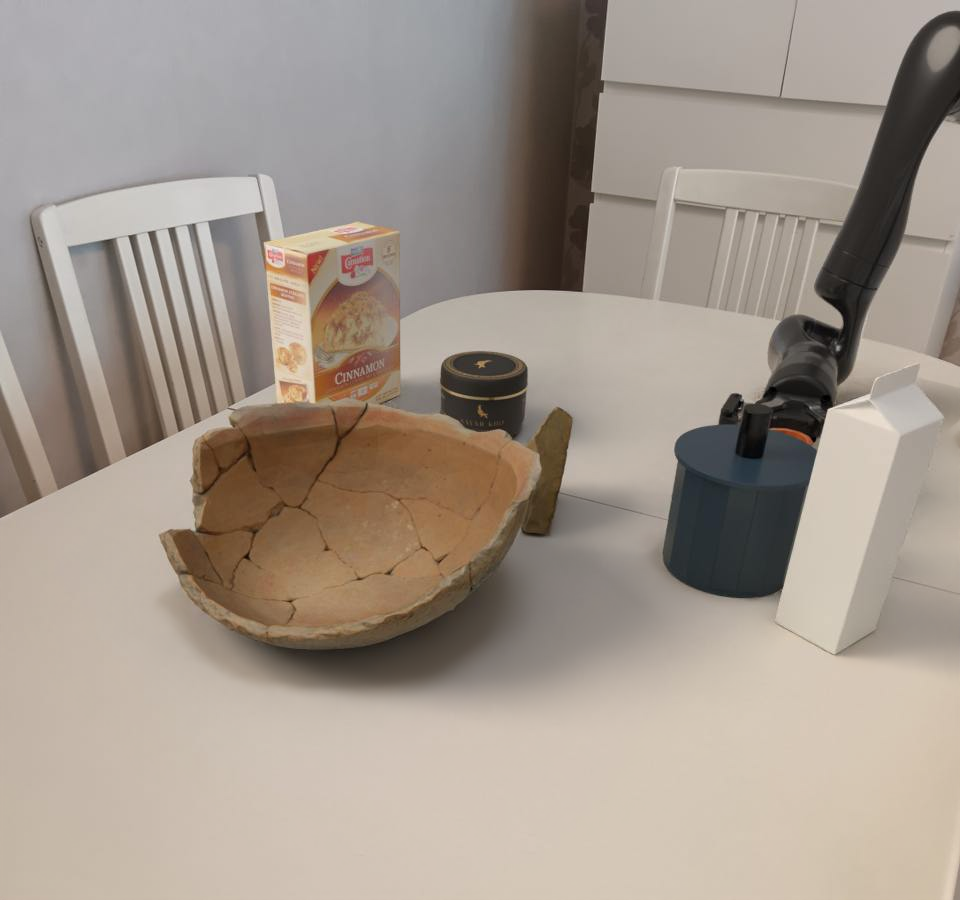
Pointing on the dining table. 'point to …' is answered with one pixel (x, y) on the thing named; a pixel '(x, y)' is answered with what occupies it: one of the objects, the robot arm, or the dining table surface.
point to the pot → (730, 536)
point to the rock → (548, 470)
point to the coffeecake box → (335, 314)
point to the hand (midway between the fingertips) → (784, 450)
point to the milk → (858, 511)
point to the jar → (484, 390)
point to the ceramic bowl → (346, 520)
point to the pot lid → (747, 454)
